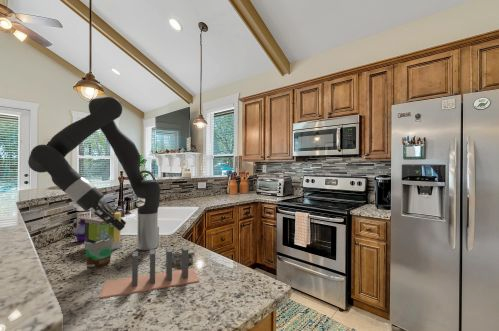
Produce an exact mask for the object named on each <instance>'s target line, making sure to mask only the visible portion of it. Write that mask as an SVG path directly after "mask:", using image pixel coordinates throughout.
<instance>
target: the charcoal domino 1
mask: <svg viewBox="0 0 499 331" xmlns="http://www.w3.org/2000/svg"><path fill="white" fill-rule="evenodd" d="M138 256H139V251H138V250H136V251H132V257H131V258H132V260H131V277H132V287H136V286H137V284H138V276H139V271H138V270H139V269H138V268H139V257H138Z"/></svg>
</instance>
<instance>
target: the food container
mask: <svg viewBox="0 0 499 331" xmlns="http://www.w3.org/2000/svg"><path fill="white" fill-rule="evenodd" d="M113 243H114V241H113V239H112V237H110V236H107V238H106V239H104V240H99V241H96V242H94V243H92V244H85V243H84V247H83V249H84V250H85V258H86V259H85V260H86V269H88V270H89V269H90V270H91V269H93V270H94V269H99V268H104V267H107V266H108V265H110V264H111V257H112V256H111V255H112V250H111V248H112V244H113Z"/></svg>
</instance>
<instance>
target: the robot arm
mask: <svg viewBox="0 0 499 331" xmlns="http://www.w3.org/2000/svg"><path fill="white" fill-rule="evenodd" d="M88 112H89V114H88V115H86V116H85V117H82V118H81V119H79V120H76V121H74V122H72V123H70V124H68V125H66V126H65V127H64V128H62V129H61V130H60V131H58V132H57V133H56V134H54V135H53V136H52V137H51V139H50V140H49V141H48V142H47V144H38V145H35V146H34V147H32V150H31V151H30V154H29V157H28V160H27V161H28V167H29V168H30V169H31V170H32V171H34V172H36V173H48V175H50V177H51V181H52V183H53V184H54V186H56V187H58V189H60V190H61V191H62V192H64V193H65V194H66V195H67V196H68V197H69V198H70V199H71V200H72V201H73V202H74V203H75V204H76V205H78V206H79V208H81V209H82V210H83V211H85V212H87V211H89V210H91V209H93V210H94V215H95V216H96V217H100V218H101V219H102V220H104V221H105V222H106V223H107V224H112V225H113V226H114V227H116V228H117V229H118V230H119V231H120V232H121V231H122V230H123V229H124V228H125V225H126V224H127V222H126V221H125V220H124V219H123V218H121V222H120V221H119V220H118V219H117V218H116V217H115V216H114V214H115V213H116V212H117V211H116V210H115V209H114V208H113V207H112V206H111V205H110V204H109V203H107V202H103V201H102V199H103V198H104V196H105V194H104V193H103V192H102V191H101V190H99V189H98V188H97V187H96V186H95V185H94V184H93V183H91V182H90V181H89V180H87V179H86V178H85V177H83V176H82V175H81V174H80V173H79V172H77V171H76V170H75V169H74V168H73V167H72V166H71V164H70V163H69V162H68V161H67V159H66V157H67V155H68V154H70V153H71V152H72V151H73V150H75V149H77V147H79V145H81V144H82V143H83V142H85V140H86V139H88V138H90V136H92V135H93V134H95V132H97V131H98V130H101V132H102V133H103V135H104V137H105V138H106V141H107V142H108V144H109V145H110V147H111V148H112V151H113V154H114V155H115V156H116V158H117V160H118V162H119V163H120V165H121V167H122V169H123V171H124V172H125V175H126V177H127V179H128V181H129V183H130V185H131V189H132V191H133V193H134V195H135V196H136V197H137V198H139V199H141V200H144V204H143V205H141V206H139V207H137V237H136V238H137V246H136V247H137V251H138V250H139V251H150V250H153V249H155V250H156V248H157V247H158V246H160V245H159V244H160V227H159V226H158V224H159V222H158V218H159V216H158V215H159V214H158V213H159V211H158V209H159V207H160V199H161V198H160V196H161V187H160V183H159V182H158V181H157V180H150V179H149V180H146V179H145V178H144V176H143V175H142V173H141V169H140V167H141V154H140V151H139V149H138V148H137V146H136V143H135V142H134V141H133V140H132V139H131V138H130V137H129V136H127V134H126V133H125V132H123V131H122V130H121V129H120V128H119V127H118V126H117V124H116V122H115V120H117V119H118V118H120V117H121V115H122V114H123V105H122V104H121V102H120V100H118V99H117V98H116V97H114V96H103V97H97V98H93V99H91V100H90V101H89V103H88ZM108 218H109V219H108Z"/></svg>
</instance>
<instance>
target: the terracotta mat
mask: <svg viewBox="0 0 499 331" xmlns="http://www.w3.org/2000/svg"><path fill="white" fill-rule="evenodd" d="M199 282H200V279H199V278H198V275H197V273H196V271H195V269H194V267H191V268H189V267H188V278H185V279H183V276H182V269H178V270H177V269H176V270H172V281H167V278H166V271H164V272H155V283H154V284H150V273H148V274H143V275H138V284H137V286H136V287H132V276H130V277H123V278H122V277H121V278H115V279H109V280H108V279H107V280H105V281H104V284H103V287H102V290H101V292H100V296H99V299H106V298H110V297H111V298H112V297H116V296H122V295H129V294H134V293H142V292H147V291H152V290H159V289H164V288H170V287H177V286H183V285H188V284H194V283H199Z"/></svg>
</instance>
